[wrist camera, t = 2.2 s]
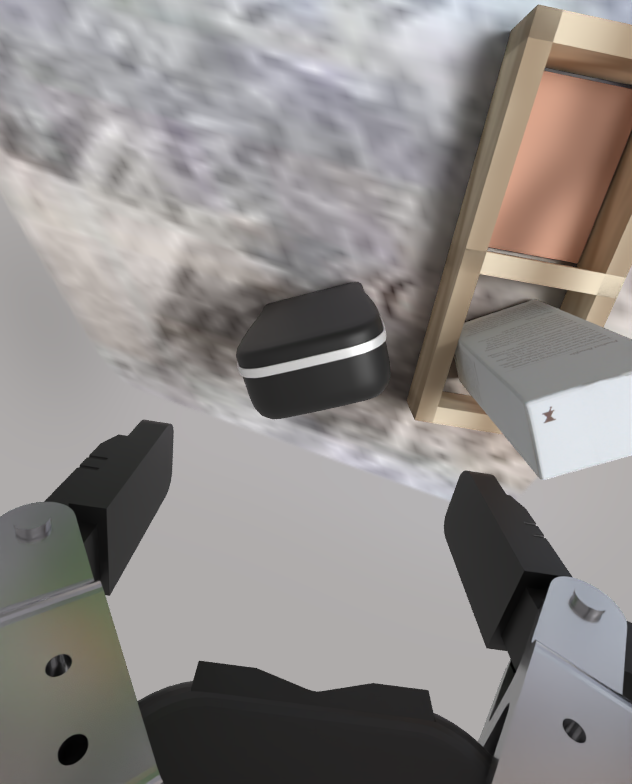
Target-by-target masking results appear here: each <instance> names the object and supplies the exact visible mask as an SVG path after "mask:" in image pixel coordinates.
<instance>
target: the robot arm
mask: <svg viewBox="0 0 632 784" xmlns="http://www.w3.org/2000/svg"><path fill="white" fill-rule="evenodd" d="M172 458H173V426H172V424H168V423H161V422H155V421H149V420H142V421H141V422H140V423H139V424H138V425H137V426H136V427H135V429H134V430H133V431H132V432H131V433H130V434H129V435H128V436H124V435H117V436H115V437H113V438H111V439H109V440H107V441H105V442H103V443H101V444H100V445H99V446H98V447H97V448H96V449H95V450H94V451H93V452H92V453H91V454H90V456H89V458H86V459H85V460H84V461H83V463H81V464H80V467H79V468H76V470H75V471H74V472H73V473H72V474H71V475H70V476H69V477H68V478H67V479H66V480H65V481H64V482H63V483H62V484H61V485H60V486H59V487H58V488H57V489H56V490H55V491H54V492H53V493H52V495H50V497H48V498H47V499H46V500H45V501H44V502H36V503H31V504H27V505H23V506H20V507H18V508H15V509H13V510H11V511H8V512H7V513H5V514H3V515H2V516H1V517H0V784H632V623H630V622H628V621H626V619H625V616H624V615H623V613H622V611H621V610H620V609H619V607H618V606H617V605H616V604H615V602H613V601H612V600H611V599H610V598H609V597H608V596H607V595H605V594H604V593H603V592H602V591H600V590H599V589H597V588H596V587H594V586H592V585H591V584H588V583H586V582H584V581H582V580H579V579H576V578H573V577H572V576H571V574H570V573H569V571H568V570H567V568H566V567H565V565H564V564H563V563H562V561H561V560H560V558H559V557H558V555H557V554H556V552H555V551H554V549H553V548H552V547H551V545H550V543H549V542H548V541H547V539H546V538H544V535H543V533H542V532H541V530H540V529H539V527H538V526H536V523H535V522H534V520H533V519H532V517H531V516H530V514H529V513H528V511H527V510H526V509H525V508H524V507H523V506H522V505H520V503H518V502H517V501H516V500H515V499H514V498H513V497H511V496H510V495H506V493H505V492H504V490H503V489H502V487H501V486H500V484H499V483H498V481H497V479H496V478H495V477H494V476H493V475H491V474H485V473H478V472H472V471H463V472H462V473H461V475H460V477H459V480H458V482H457V485H456V488H455V491H454V493H453V496H452V499H451V502H450V504H449V507H448V510H447V513H446V516H445V521H444V533H445V538H446V540H447V543H448V546H449V549H450V551H451V554H452V556H453V559H454V562H455V565H456V567H457V570H458V573H459V576H460V578H461V581H462V583H463V586H464V589H465V592H466V594H467V597H468V600H469V602H470V605H471V608H472V610H473V613H474V616H475V618H476V621H477V624H478V626H479V629H480V632H481V634H482V637H483V640H484V643H485V645H486V648H489V649H496V650H504V651H508V653H509V656H510V658H511V659H510V661H509V663H508V665H507V667H506V669H505V671H504V674H503V677H502V679H501V682H500V685H499V687H498V690H497V693H496V696H495V698H494V701H493V704H492V706H491V709H490V712H489V714H488V717H487V720H486V722H485V725H484V728H483V730H482V733H481V735H480V738H479V740H478V742H477V741H476V740H475V739H474V738H473V737H471V736H470V735H469V734H468V733H467V732H465V731H464V730H462V729H461V728H459V727H458V726H457V725H455V724H454V723H452V722H450V721H448V720H447V719H445V718H443V717H441V716H440V715H437V714H435V713H433V710H432V705H431V701H430V696H429V691H428V690H422V689H413V688H406V687H398V686H391V685H383V684H375V683H372V684H365V685H359V686H352V687H346V688H340V689H333V690H327V691H321V692H316V691H311V690H308V689H305V688H303V687H300V686H298V685H296V684H293V683H291V682H289V681H286V680H284V679H281V678H279V677H277V676H274V675H271V674H269V673H267V672H265V671H262V670H260V669H257V668H251V667H243V666H236V665H228V664H220V663H213V662H204V661H199V662H198V666H197V669H196V673H195V676H194V680H193V681H190V682H184V683H180V684H176V685H173V686H169V687H166V688H164V689H161V690H159V691H156V692H154V693H152V694H150V695H148V696H146V697H144V698H143V699H141V700H139V701H137V699H136V696H135V692H134V689H133V686H132V682H131V680H130V676H129V673H128V669H127V666H126V663H125V659H124V656H123V653H122V650H121V646H120V643H119V640H118V636H117V633H116V630H115V626H114V623H113V620H112V616H111V613H110V610H109V607H108V603H107V600H106V597H105V595H110V594H111V593H112V591H113V589H114V587H115V585H116V584H117V582H118V580H119V578H120V577H121V575H122V573H123V571H124V569H125V568H126V566H127V564H128V562H129V560H130V559H131V557H132V555H133V553H134V552H135V550H136V548H137V546H138V544H139V543H140V541H141V539H142V537H143V535H144V534H145V532H146V530H147V529H148V527H149V525H150V523H151V521H152V520H153V518H154V516H155V514H156V513H157V511H158V509H159V507H160V505H161V504H162V502H163V500H164V498H165V496H166V494H167V492H168V489H169V486H170V482H171V476H172Z"/></svg>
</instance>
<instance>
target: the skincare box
mask: <svg viewBox="0 0 632 784" xmlns="http://www.w3.org/2000/svg"><path fill="white" fill-rule="evenodd" d="M454 360H455V363H456V367H457V372H458V376H459V380H460V382H461V383H462V385H463V386H464V387H465V388H466V389H467V391H468V392H469V393H470V394H471V396H472V397H473V398H474V399H475V401H476V402H477V403H478V404H479V405H480V407H481V408H482V409H483V410H484V411H485V413H486V414H487V415H488V416H489V417H490V419H491V420H492V421H493V422H494V424H495V425H496V426H497V427H498V428H499V430H500V431H501V432H502V433H503V434H504V436H505V437H506V438H507V439H508V441H509V442H510V443H511V444H512V445H513V447H514V448H515V449H516V450H517V452H518V453H519V454H520V455H521V456H522V457H523V459H524V460H525V461H526V462H527V464H528V465H529V466H530V467H531V469H532V470H533V471H534V472H535V473H536V475H537V476H538V477H539V478H540V479H542V480H546V479H550V478H553V477H557V476H560V475H563V474H567V473H571V472H574V471H578V470H582V469H585V468H589V467H592V466H596V465H600V464H603V463H607V462H610V461H614V460H618V459H621V458H625V457H628V456H632V339H629V338H627V337H625V336H622V335H620V334H617V333H615V332H613V331H610V330H608V329H605V328H603V327H601V326H598V325H596V324H594V323H591V322H589V321H586V320H584V319H582V318H579V317H577V316H574V315H572V314H570V313H567V312H565V311H562V310H560V309H558V308H555V307H553V306H551V305H548V304H546V303H543V302H541V301H539V300H536V299H534V300H531V301H528V302H525V303H522V304H519V305H516V306H513V307H510V308H507V309H504V310H501V311H498V312H495V313H492V314H489V315H486V316H483V317H480V318H477V319H474V320H471V321H468V322H465V323H464V325H463V328H462V331H461V335H460V338H459V341H458V344H457V347H456V350H455V353H454Z"/></svg>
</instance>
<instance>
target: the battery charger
mask: <svg viewBox="0 0 632 784" xmlns="http://www.w3.org/2000/svg"><path fill="white" fill-rule="evenodd" d="M385 340H386V330H385V326H384V323H383V320H382V318H381V316H380V314H379V312H378V310H377V307H376V306H375V304H374V303H373V301H372V300H371V299H370V298H369V296H368V295H367V294H366V293H365V291H364V290H363V287H362V284H361V283H359V282H354V283H350V284H346V285H342V286H338V287H334V288H330V289H326V290H322V291H318V292H314V293H310V294H306V295H302V296H298V297H294V298H290V299H286V300H282V301H278V302H274V303H271V304H268V305H266V306H265V307H264V309H263V311H262V313H261V315H260V316H259V317H258V319H257V320H256V321H255V322H254V324H253V325H252V326H251V327H250V329H249V330H248V331H247V333H246V334H245V336H244V338H243V339H242V341H241V343H240V345H239V347H238V348H237V353H236V357H237V361H238V362H237V367H238V370H239V373H240V375H241V376H243V379H244V382H245V384H246V387H247V390H248V393H249V396H250V399H251V401H252V403H253V405H254V407H255V409H256V410H257V411H258V412H259V413H260V414H261V415H262V416H264V417H267V418H270V419H281V418H288V417H292V416H297V415H302V414H307V413H312V412H316V411H321V410H326V409H330V408H335V407H339V406H343V405H348V404H352V403H356V402H361V401H365V400H368V399H371V398H374V397H376V396H378V395H379V394H381V393H382V392H383V391H384V390H385V388H386V387H387V385H388V383H389V380H390V361H389V356H388V351H387V346H386V341H385Z"/></svg>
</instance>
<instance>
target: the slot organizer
mask: <svg viewBox="0 0 632 784" xmlns="http://www.w3.org/2000/svg"><path fill="white" fill-rule="evenodd" d="M545 67H546V68H551V69H555V70H560V71H565V72H570V73H575V74H579V75H584V76H589V77H594V78H599V79H603V80H608V81H613V82H618V83H623V84H627V85H632V25H630V24H626V23H621V22H616V21H612V20H607V19H602V18H598V17H593V16H589V15H584V14H579V13H575V12H570V11H565V10H561V9H556V8H552V7H547V6H542V5H537V6H536V7H535V8H534V9H533V10H532V11H531V12H530V13H529V14H528V15H527V16H526V17H525V18H524V19H523V20H522V21H520V22H519V23H518V24H517V25H516V26H515V27H514V28H513V29H512V30H511V33H510V36H509V40H508V43H507V47H506V50H505V54H504V57H503V61H502V64H501V68H500V72H499V75H498V79H497V82H496V86H495V89H494V93H493V96H492V100H491V103H490V107H489V111H488V114H487V118H486V121H485V125H484V128H483V132H482V135H481V139H480V142H479V146H478V150H477V153H476V157H475V160H474V164H473V167H472V171H471V174H470V178H469V182H468V185H467V189H466V192H465V196H464V199H463V203H462V206H461V210H460V213H459V217H458V221H457V224H456V228H455V231H454V235H453V238H452V242H451V245H450V249H449V252H448V256H447V260H446V263H445V267H444V270H443V274H442V277H441V281H440V284H439V288H438V291H437V295H436V299H435V302H434V306H433V309H432V313H431V316H430V320H429V323H428V327H427V330H426V334H425V338H424V341H423V345H422V348H421V352H420V355H419V359H418V362H417V366H416V369H415V373H414V377H413V380H412V384H411V387H410V391H409V394H408V398H407V403H408V406H409V408H410V410H411V412H412V415H413V417H414V419H415V420H417V421H423V422H430V423H436V424H442V425H448V426H454V427H461V428H467V429H473V430H479V431H485V432H492V433H498V434H503V433H502V432H501V431H500V430H499V428H498V427H497V426H496V425H495V424H494V422H493V421H492V420H491V419H490V417H489V416H488V415H487V414H486V413H485V411H484V410H483V409H482V408H481V407H480V405H479V404H478V403H477V402H476V401H475V399H474V398H473V397H472V396H468V395H462V394H456V393H449V392H443V388H444V385H445V382H446V379H447V376H448V372H449V369H450V366H451V363H452V360H453V357H454V353H455V350H456V347H457V344H458V341H459V338H460V335H461V331H462V328H463V325H464V322H465V319H466V316H467V312H468V309H469V306H470V303H471V300H472V297H473V293H474V290H475V287H476V284H477V281H478V278H479V274H483V275H488V276H494V277H499V278H505V279H510V280H516V281H521V282H527V283H533V284H538V285H544V286H549V287H555V288H560V289H566V290H567V292H566V295H565V297H564V300H563V302H562V305H561V307H560V310H562V311H565V312H567V313H570V314H572V315H574V316H577V317H579V318H582V319H584V320H586V321H589V322H591V323H594V324H596V325H598V326H601V327H604V325H605V323H606V320H607V318H608V316H609V314H610V312H611V309H612V307H613V305H614V303H615V301H616V298H617V296H618V294H619V292H620V290H621V287H622V285H623V283H624V281H625V279H626V276H627V274H628V272H629V270H630V268H631V265H632V131H631V130H632V89H629V88H624V87H619V86H615V85H610V84H605V83H600V82H595V81H591V80H586V79H581V78H576V77H571V76H567V75H562V74H557V73H552V72H547V71H544V69H545ZM630 133H631V134H630ZM629 135H630V136H629ZM628 138H629V139H628ZM627 140H628V141H627ZM626 142H627V144H626ZM625 145H626V146H625ZM624 147H625V149H624ZM623 150H624V151H623ZM622 152H623V153H622ZM621 155H622V156H621ZM620 157H621V158H620ZM619 160H620V161H619ZM618 162H619V163H618ZM617 165H618V166H617ZM616 167H617V168H616ZM615 170H616V171H615ZM614 172H615V173H614ZM613 175H614V176H613ZM612 177H613V178H612ZM611 180H612V181H611ZM610 182H611V183H610ZM609 185H610V186H609ZM608 187H609V188H608ZM607 190H608V191H607ZM606 192H607V193H606ZM605 195H606V196H605ZM604 197H605V198H604ZM603 200H604V201H603ZM602 202H603V203H602ZM601 204H602V205H601ZM600 207H601V208H600ZM599 209H600V210H599ZM598 212H599V213H598ZM597 214H598V215H597ZM596 217H597V218H596ZM595 219H596V220H595ZM594 222H595V223H594ZM593 224H594V225H593ZM592 227H593V228H592ZM591 229H592V230H591ZM590 232H591V233H590ZM589 234H590V235H589ZM588 237H589V238H588ZM587 239H588V240H587ZM586 242H587V243H586ZM585 244H586V245H585ZM488 247H491V248H497V249H502V250H508V251H513V252H519V253H524V254H529V255H535V256H540V257H546V258H551V259H556V260H562V261H567V262H573V263H578V265H577V267H571V266H566V265H560V264H555V263H549V262H544V261H538V260H533V259H528V258H522V257H517V256H511V255H506V254H500V253H495V252H490V251H487V249H488ZM584 247H585V248H584ZM583 249H584V250H583ZM582 252H583V253H582ZM581 254H582V255H581ZM580 257H581V258H580ZM579 259H580V260H579Z"/></svg>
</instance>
